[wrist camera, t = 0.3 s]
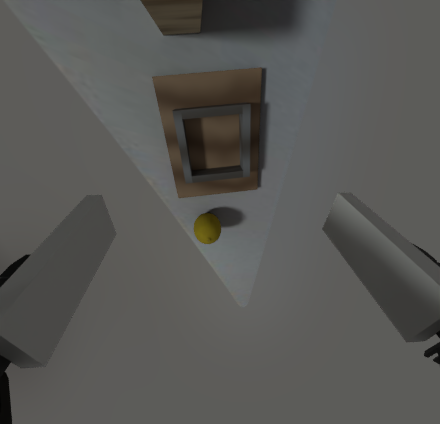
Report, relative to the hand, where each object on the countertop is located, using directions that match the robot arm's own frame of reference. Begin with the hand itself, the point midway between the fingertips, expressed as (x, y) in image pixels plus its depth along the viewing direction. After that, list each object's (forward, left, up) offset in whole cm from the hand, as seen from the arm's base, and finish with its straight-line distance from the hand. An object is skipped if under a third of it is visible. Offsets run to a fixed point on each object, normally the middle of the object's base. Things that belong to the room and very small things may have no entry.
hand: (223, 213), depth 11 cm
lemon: (+18, -2, -27) cm, 32 cm away
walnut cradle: (+2, +1, -26) cm, 27 cm away
